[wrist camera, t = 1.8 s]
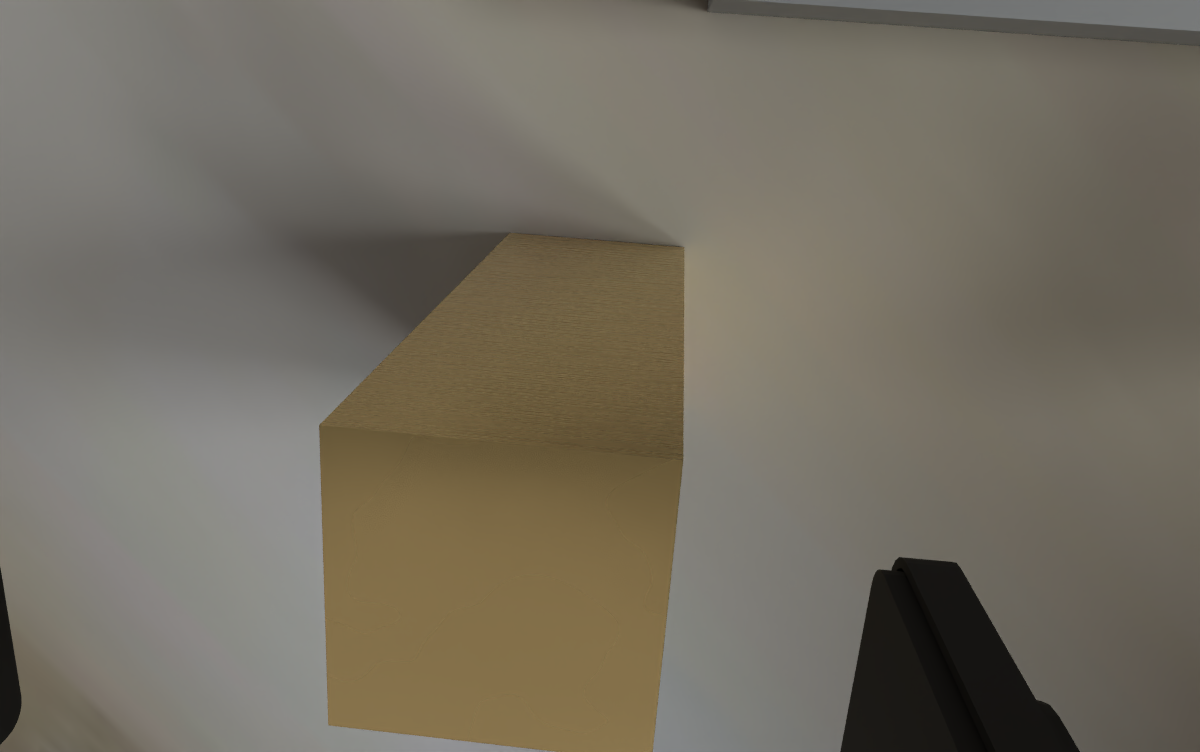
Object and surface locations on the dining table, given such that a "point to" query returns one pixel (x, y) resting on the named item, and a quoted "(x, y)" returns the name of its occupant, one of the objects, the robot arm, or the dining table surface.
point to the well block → (1002, 16)
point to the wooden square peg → (512, 505)
